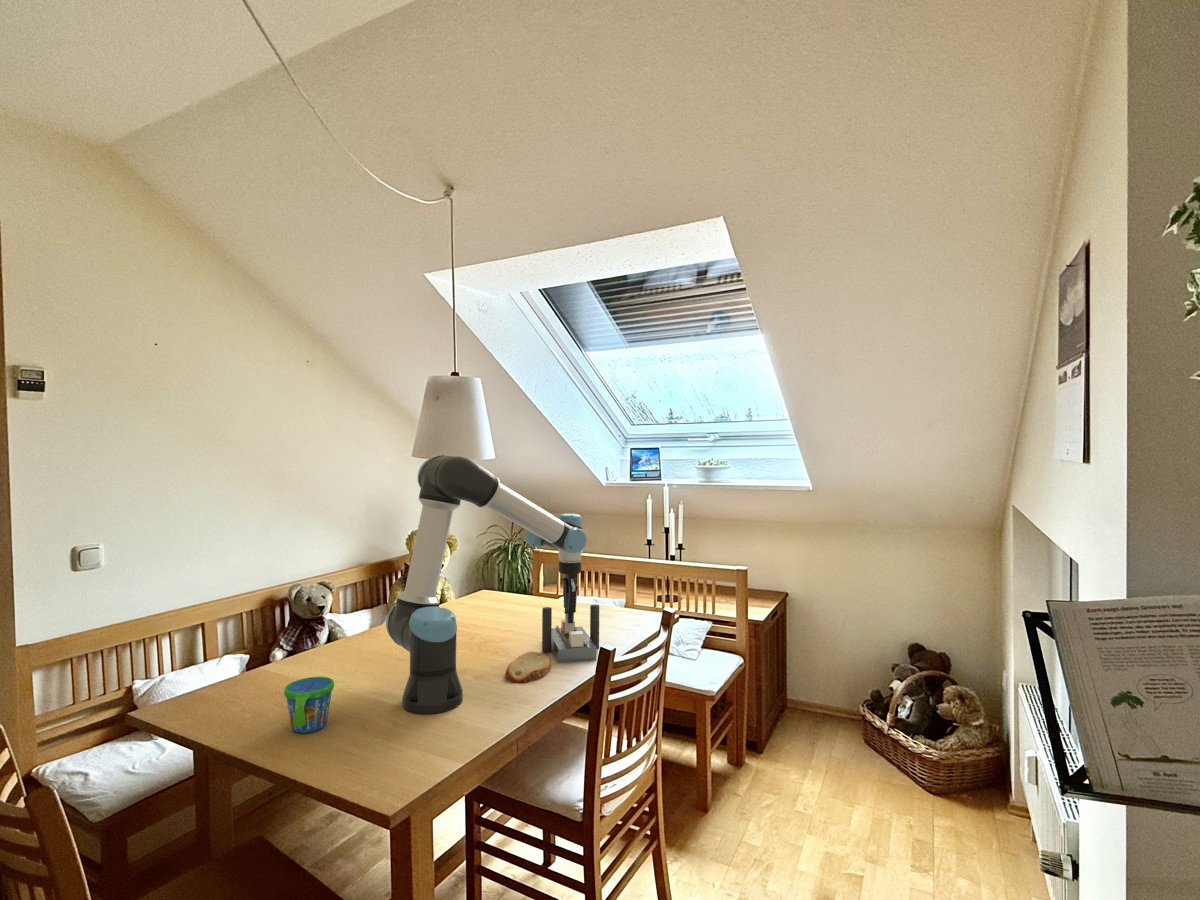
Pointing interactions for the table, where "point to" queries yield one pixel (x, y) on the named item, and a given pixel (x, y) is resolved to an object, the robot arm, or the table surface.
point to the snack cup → (309, 703)
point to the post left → (546, 629)
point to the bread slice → (528, 667)
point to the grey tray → (572, 653)
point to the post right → (594, 624)
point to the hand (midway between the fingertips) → (569, 631)
